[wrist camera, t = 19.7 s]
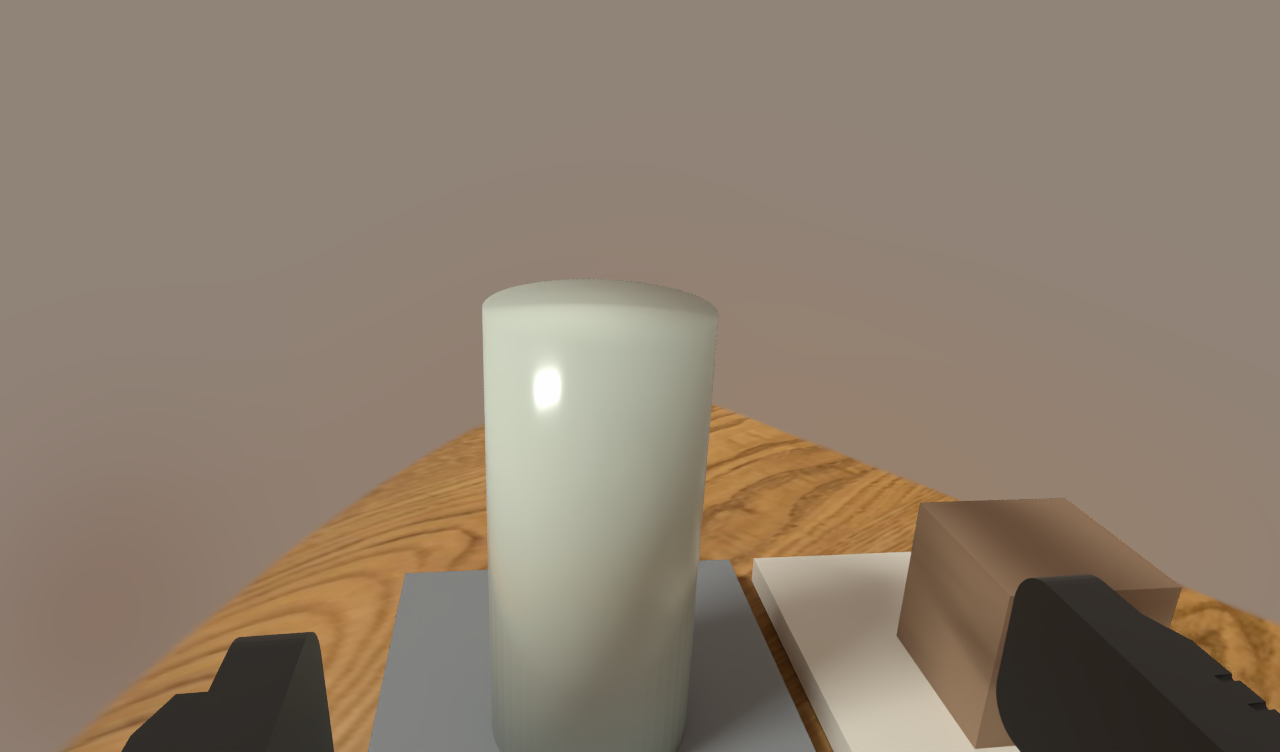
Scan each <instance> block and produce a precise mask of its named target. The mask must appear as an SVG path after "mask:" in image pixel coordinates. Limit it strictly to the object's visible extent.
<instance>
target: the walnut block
mask: <svg viewBox="0 0 1280 752" xmlns="http://www.w3.org/2000/svg"><path fill="white" fill-rule="evenodd" d="M1080 574H1090V575H1094V576H1096V577H1098V578H1100V579H1101V580H1102V581H1104V582H1105V583H1106V584H1107V585H1108V586H1110V587H1111V588H1112V589H1113V590H1114V591H1115V592H1117V593H1118V594H1119V595H1120V596H1121V597H1122V598H1124V599H1125V600H1126V601H1127V602H1128V603H1130V604H1131V605H1132V606H1133V607H1134V608H1135V609H1137V610H1138V611H1139V612H1140V613H1141V614H1143V615H1145V616H1147V617H1149V618H1151V619H1153V620H1154V621H1156V622H1158V623H1160V624H1162V625H1164V626H1166V627H1167V628H1169V627H1170V624H1171V621H1172V618H1173V614H1174V611H1175V608H1176V605H1177V602H1178V598H1179V595H1180V592H1181V589H1182V587H1181V586H1180V585H1179V584H1177V583H1176V582H1175V581H1173V580H1172V579H1171V578H1169V577H1168V576H1167V575H1165V574H1164V573H1163V572H1161V571H1160V570H1159V569H1158V568H1156V567H1155V566H1153V565H1152V564H1151V563H1150V562H1148V561H1147V560H1146V559H1144V558H1143V557H1142V556H1140V555H1139V554H1138V553H1136V552H1135V551H1134V550H1132V549H1131V548H1130V547H1129V546H1127V545H1126V544H1125V543H1123V542H1122V541H1121V540H1119V539H1118V538H1117V537H1115V536H1114V535H1113V534H1111V533H1110V532H1109V531H1108V530H1106V529H1105V528H1104V527H1102V526H1101V525H1100V524H1098V523H1097V522H1096V521H1094V520H1093V519H1092V518H1090V517H1089V516H1088V515H1086V514H1085V513H1084V512H1083V511H1081V510H1080V509H1079V508H1077V507H1076V506H1075V505H1073V504H1072V503H1071V502H1069V501H1068V500H1067V499H1065V498H1049V499H1019V500H988V501H958V502H928V503H920V507H919V512H918V518H917V523H916V529H915V535H914V540H913V546H912V551H911V557H910V562H909V568H908V574H907V579H906V585H905V590H904V596H903V601H902V607H901V612H900V618H899V624H898V629H897V635H896V636H897V637H898V639H899V640H900V642H901V643H902V644H903V646H904V647H905V649H906V650H907V652H908V653H909V655H910V656H911V657H912V659H913V660H914V662H915V663H916V665H917V666H918V668H919V669H920V670H921V672H922V673H923V675H924V676H925V678H926V679H927V681H928V682H929V683H930V685H931V686H932V688H933V689H934V691H935V692H936V694H937V695H938V697H939V698H940V699H941V701H942V702H943V704H944V705H945V707H946V708H947V710H948V711H949V712H950V714H951V715H952V717H953V718H954V720H955V721H956V723H957V724H958V725H959V727H960V728H961V730H962V731H963V733H964V734H965V736H966V737H967V738H968V740H969V741H970V743H971V744H972V746H973V747H974V749H981V748H993V747H1005V746H1015V744H1014V743H1013V741H1012V740H1011V739H1010V737H1009V735H1008V734H1007V732H1006V730H1005V728H1004V725H1003V723H1002V720H1001V717H1000V714H999V710H998V706H997V699H996V683H997V677H998V673H999V668H1000V663H1001V658H1002V653H1003V649H1004V644H1005V639H1006V634H1007V630H1008V625H1009V620H1010V615H1011V611H1012V606H1013V601H1014V597H1015V593H1016V590H1017V588H1018V586H1019V585H1020V584H1021V582H1023V581H1024V580H1025V579H1028V578H1038V577H1052V576H1066V575H1080Z"/></svg>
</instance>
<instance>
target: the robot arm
mask: <svg viewBox="0 0 1280 752" xmlns="http://www.w3.org/2000/svg"><path fill="white" fill-rule="evenodd" d="M996 699H997V706H998V710H999V714H1000V717H1001V720H1002V723H1003V725H1004V728H1005V730H1006V732H1007V734H1008V735H1009V737H1010V739H1011V740H1012V741H1013V743H1014V744H1015V746H1016V747H1017V748H1018V749H1019V751H1020V752H1280V713H1278V712H1277V711H1276V710H1275V709H1273V710H1268V708H1267V707H1266V702H1265V701H1264V700H1263V699H1262V698H1260V697H1259V696H1258V695H1257V694H1256V693H1254V692H1253V691H1252V690H1251V689H1250V688H1248V687H1247V686H1246V685H1245V684H1243V683H1242V682H1241V681H1234V680H1233V679H1232V674H1231V673H1230V672H1229V671H1228V670H1227V669H1225V668H1224V667H1223V666H1222V665H1221V664H1219V663H1218V662H1217V661H1216V660H1214V659H1213V658H1212V657H1211V656H1210V655H1208V654H1207V653H1206V652H1205V651H1204V650H1202V649H1201V648H1200V647H1199V646H1198V645H1196V644H1195V643H1194V642H1193V641H1192V640H1190V639H1188V638H1186V637H1184V636H1182V635H1180V634H1179V633H1177V632H1175V631H1173V630H1171V629H1169V628H1167V627H1166V626H1164V625H1162V624H1160V623H1158V622H1156V621H1154V620H1153V619H1151V618H1149V617H1147V616H1145V615H1143V614H1141V613H1140V612H1139V611H1138V610H1137V609H1135V608H1134V607H1133V606H1132V605H1131V604H1130V603H1128V602H1127V601H1126V600H1125V599H1124V598H1122V597H1121V596H1120V595H1119V594H1118V593H1117V592H1115V591H1114V590H1113V589H1112V588H1111V587H1110V586H1108V585H1107V584H1106V583H1105V582H1104V581H1102V580H1101V579H1100V578H1098V577H1096V576H1094V575H1090V574H1080V575H1066V576H1052V577H1038V578H1028V579H1025V580H1024V581H1023V582H1021V584H1020V585H1019V586H1018V588H1017V590H1016V593H1015V597H1014V601H1013V606H1012V611H1011V615H1010V620H1009V625H1008V630H1007V634H1006V639H1005V644H1004V649H1003V653H1002V658H1001V663H1000V668H999V673H998V677H997V683H996ZM122 752H334V749H333V740H332V732H331V725H330V717H329V710H328V702H327V695H326V687H325V680H324V672H323V664H322V657H321V650H320V644H319V640H318V638H317V636H316V634H315V633H314V632H305V633H291V634H278V635H264V636H250V637H238V638H237V639H235V640H234V641H233V643H232V644H231V646H230V648H229V650H228V652H227V654H226V656H225V658H224V660H223V662H222V664H221V666H220V668H219V670H218V672H217V674H216V676H215V679H214V681H213V683H212V685H211V687H210V689H209V691H208V692H199V693H186V694H176V695H175V696H174V697H172V698H171V699H170V700H169V701H168V702H167V703H166V704H165V705H164V706H163V707H162V708H160V709H159V710H158V711H157V712H156V713H155V714H154V715H153V716H152V717H151V718H150V719H148V720H147V721H146V722H145V723H144V724H143V725H142V726H141V727H140V728H139V729H137V730H136V731H135V732H134V733H133V734H132V735H131V736H130V738H129V740H128V741H127V743H126V745H125V747H124V748H123V750H122Z"/></svg>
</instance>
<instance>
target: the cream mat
mask: <svg viewBox="0 0 1280 752" xmlns="http://www.w3.org/2000/svg"><path fill="white" fill-rule="evenodd" d="M910 557H911V552H895V553H871V554H848V555H824V556H801V557H777V558H754V563H753V573H752V583H753V585H754V587H755V589H756V591H757V593H758V595H759V597H760V599H761V601H762V603H763V605H764V608H765V610H766V612H767V614H768V616H769V618H770V620H771V622H772V624H773V626H774V628H775V630H776V633H777V635H778V637H779V639H780V641H781V643H782V645H783V647H784V649H785V651H786V653H787V655H788V658H789V660H790V662H791V664H792V666H793V668H794V670H795V672H796V674H797V676H798V678H799V680H800V683H801V685H802V687H803V689H804V691H805V693H806V695H807V697H808V699H809V701H810V703H811V705H812V708H813V710H814V712H815V714H816V716H817V718H818V720H819V722H820V724H821V726H822V728H823V731H824V733H825V735H826V737H827V739H828V741H829V743H830V745H831V747H832V749H833V751H834V752H1020V751H1019V749H1018V748H1017V747H1016V746H1005V747H993V748H981V749H974V747H973V746H972V744H971V743H970V741H969V740H968V738H967V737H966V736H965V734H964V733H963V731H962V730H961V728H960V727H959V725H958V724H957V723H956V721H955V720H954V718H953V717H952V715H951V714H950V712H949V711H948V710H947V708H946V707H945V705H944V704H943V702H942V701H941V699H940V698H939V697H938V695H937V694H936V692H935V691H934V689H933V688H932V686H931V685H930V683H929V682H928V681H927V679H926V678H925V676H924V675H923V673H922V672H921V670H920V669H919V668H918V666H917V665H916V663H915V662H914V660H913V659H912V657H911V656H910V655H909V653H908V652H907V650H906V649H905V647H904V646H903V644H902V643H901V642H900V640H899V639H898V637H897V636H896V635H897V629H898V624H899V618H900V612H901V607H902V601H903V596H904V590H905V585H906V579H907V574H908V568H909V562H910Z"/></svg>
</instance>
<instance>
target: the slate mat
mask: <svg viewBox="0 0 1280 752" xmlns="http://www.w3.org/2000/svg"><path fill="white" fill-rule="evenodd" d="M368 752H500V751H499V749H498V747H497V744H496V742H495V740H494V736H493V732H492V722H491V678H490V633H489V588H488V570H473V571H449V572H426V573H405V577H404V582H403V587H402V591H401V596H400V601H399V606H398V610H397V615H396V620H395V625H394V629H393V634H392V639H391V644H390V649H389V653H388V658H387V663H386V668H385V672H384V677H383V682H382V687H381V692H380V696H379V701H378V706H377V711H376V715H375V720H374V725H373V730H372V734H371V739H370V744H369V749H368ZM676 752H816V751H815V749H814V746H813V744H812V742H811V740H810V738H809V735H808V733H807V731H806V729H805V727H804V724H803V722H802V720H801V718H800V716H799V713H798V711H797V709H796V707H795V704H794V702H793V700H792V698H791V696H790V693H789V691H788V689H787V687H786V685H785V682H784V680H783V678H782V676H781V674H780V671H779V669H778V667H777V665H776V663H775V660H774V658H773V656H772V654H771V652H770V649H769V647H768V645H767V643H766V641H765V638H764V636H763V634H762V632H761V630H760V627H759V625H758V623H757V621H756V618H755V616H754V614H753V612H752V610H751V607H750V605H749V603H748V601H747V599H746V596H745V594H744V592H743V590H742V588H741V585H740V583H739V581H738V579H737V577H736V574H735V572H734V570H733V568H732V566H731V563H730V561H729V560H707V561H699V566H698V578H697V590H696V603H695V615H694V628H693V640H692V653H691V665H690V677H689V690H688V702H687V715H686V726H685V732H684V736H683V739H682V742H681V744H680V746H679V748H678V750H677V751H676Z"/></svg>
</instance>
